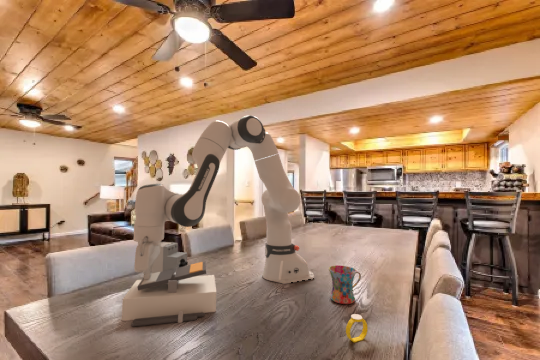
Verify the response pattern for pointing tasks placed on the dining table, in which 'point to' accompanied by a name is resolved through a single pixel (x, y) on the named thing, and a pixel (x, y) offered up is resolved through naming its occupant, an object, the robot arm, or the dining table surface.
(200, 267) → the block
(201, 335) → the dining table surface
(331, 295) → the mug
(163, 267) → the circuit breaker
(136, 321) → the dark grey piece
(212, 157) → the robot arm
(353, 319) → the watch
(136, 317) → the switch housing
